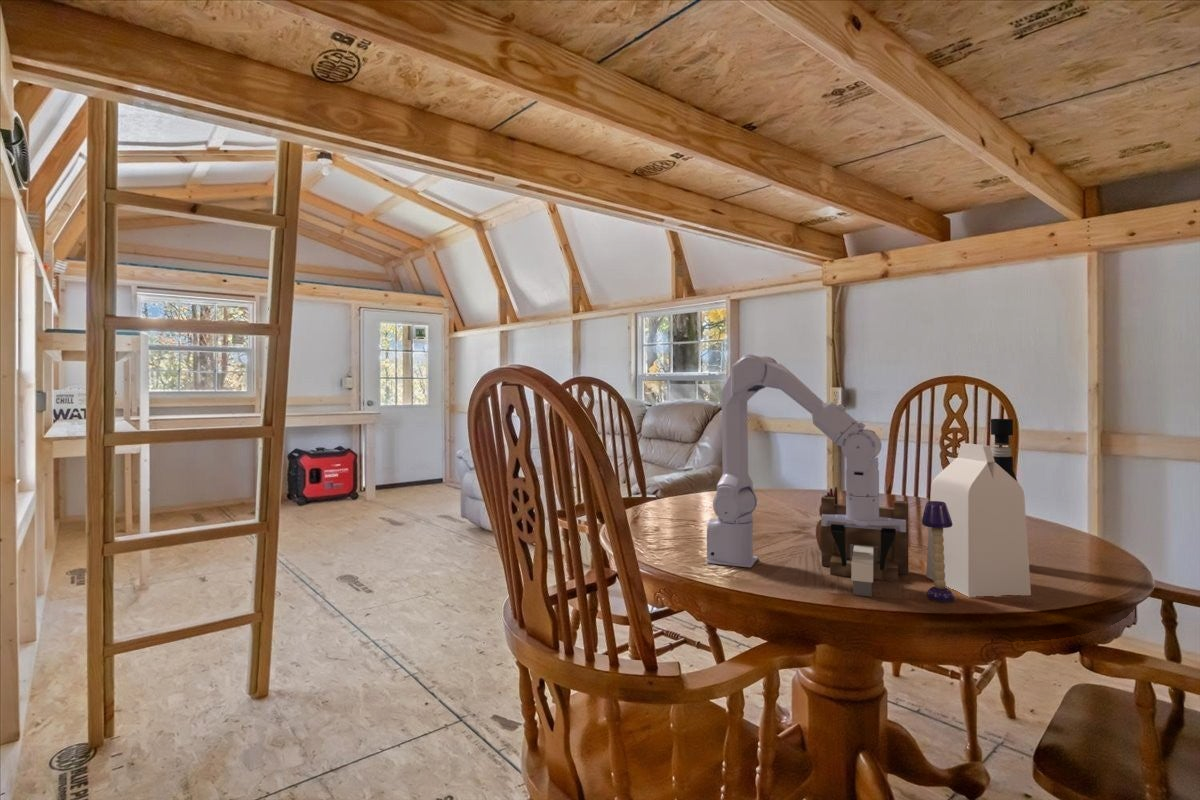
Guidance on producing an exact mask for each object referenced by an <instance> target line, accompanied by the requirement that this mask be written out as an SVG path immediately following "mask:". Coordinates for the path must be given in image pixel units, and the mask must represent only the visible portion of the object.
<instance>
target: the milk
mask: <svg viewBox="0 0 1200 800" xmlns="http://www.w3.org/2000/svg"><path fill="white" fill-rule="evenodd" d="M992 451H993V450H992V449H991V445H985V444H978V443H977V444H975V443H968V442H967V443H960V446H959V450H958V453H957V457H956V458H955V459H954V460H953V461H952V462H951V463H948V465H947V466H946V467H945V468H943V470H941V471H940V472H939V473H938V474H937V475H936V476H935V477H934V479H933V480H932V482H931V486H930V497H929V498H930V500H929V501H941V502H945V503H946V505H947V508H948V511H949V514H950V517H951V520H952V527H949V528H943V534H942V535H943V538H944V542H943V546H944V551H943V553H944V557H945V558H944V561H943V562H944V564H945V569H944V572H945V579H944V580H945V582H946V586H947V587H946V586H945V587H946V588H948V587H949V588H948V589H950V588H951V589H950V590H952V589H954V590H956V591H958V592H960V593H962V594H964V595H966V596H968V597H967V598H977V597H976V596H982V597H981V598H984V597H983V596H994V597H1002V596H1001V595H1021V596H1032V590H1031V577H1030V574H1031V573H1030V562H1029V560H1030V559H1029V545H1028V533H1027V532H1028V531H1027V530H1028V529H1027V528H1028V527H1027V514H1026V502H1025V493H1024V489H1023V487H1022V486H1021V484H1020V482H1018V480H1017V481H1016V480H1015V479H1014V478H1012V477H1011V476H1010V475H1009V474H1008V473H1007V472H1006V471H1005V470H1003V469H1002V468H1001V467H1000V466H999V465H998V464H997V463H995V460H994V457H993V452H992ZM932 536H933V533H932V527H928V538H927V557H926V573H925V574H926V575H925V577H926V578H928V579H930V580H932V581H934V580H935V577H934V570H935V569H934V567H933V562H934V559H933V553H934V551H933V548H932V546H933V541H932ZM954 590H953V591H954ZM956 591H955V592H956ZM958 592H957V593H958ZM960 593H959V594H960ZM962 594H961V595H962ZM964 595H963V596H964ZM966 596H965V597H966Z"/></svg>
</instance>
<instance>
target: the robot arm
mask: <svg viewBox="0 0 1200 800" xmlns="http://www.w3.org/2000/svg"><path fill="white" fill-rule="evenodd" d="M730 367H731V369H730V373H729V376H728V378H727V380H726V382H725V384H724V386H723V388H722V390H721V440H722V441H721V442H722V443H721V444H722V446H721V449H722V450H721V451H722V457H721V458H722V475H721V476H720V479H719V480H718V482H717V484H716V493H715V496H714V498H713V501H712V508H713V511H714V514H715V515H716V517H717V518H710V519H709V520H708V522H707V526H706V560H705V562H706V563H707V564H715V565H724V566H732V567H742V568H752V567H753V566H754V565H755V563H756V562H757V560H758V558H759V557H758V556H757V555H754V518H753V514H752V513H753V512H754V511H755V510H756V508H757V505H758V497H757V495H756V493H755V490H754V486H753V485H754V484H753V480H752V479H751V476H750V474H749V447H748V445H749V444H748V443H749V440H748V439H749V437H748V434H749V433H748V432H749V431H748V427H749V426H748V401H749V400H750V399H751V398H752V397H753V396H755V394H756V393H758V392H759V391H760V390H764V389H765V388H769V389H776V390H780V391H782V392H783V393H784V394H786V395H787V396H788V397H789V398H791V399H792V400H793V401H794V402H796V403H797V404H799V405H800V406H801V407H802V408H803V409H805V410H806V411H807V412H808V413H810V414H811V417H812V424H813V426H814V427H816V428H817V429H818V430H819V431H820V432H822V433H823V434H824V435H825V436H826V437H827V438H829V439H830V440H831V441H832V442H833V443H834V444H836V445H837V446H839V447H841V452H842V455H843V457H844V458H845V459H846V470H845V505H846V515H827V514H822V516H820V520H821V526H831V533H832V536H833V537H834V539H835V542H836V544H837V546H838V549H839V552H840V556H841V560H842V566H846V564H847V557H846V527H853V528H866V529H879V530H881V554H880V570H884V565H885V560H886V557H887V554H888V551H889V549H890V547H891V544H892V543H893V541H894V539H895V536H896V531H900V532H906V520H901V519H892V518H884V517H879V507H880V469H879V457H877V456H878V455H879V454H880V452H881V451H882V447H883V446H882V440H881V438H880V437H879V436H878V434H877V433H876V432H875V430H873V429H868V428H866V429H865V427H866V425H865V424H864V423H863V422H862V421H861V422H858V421H857V420H855V418H853V416H851V415H850V414H849V413H848V412H847V411H846V407H845V406H844V405H843V404H841V403H840V404H838V403H835V402H832V401H830V402H824V400H822V399H821V398H820V397H818V395H817V394H815V393H814V392H813V391H812V390H811V389H810V388H809V387H808V386H807V385H806V384H805V383H803V381H801V380H800V379H799V378H798V377H797V376H796V375H795V374H793V372H791V371H790V369H788V368H787V367H786V366H785V365H783V364H781V363H778V362H777V361H776V360H775V359H774V358H773V357H770V356H765V355H764V356H759V355H754V354H745V355H743V356H741V358H739V359H738V360H737V361H735V362H734V363H733V364H732V365H731V366H730ZM870 525H872V526H870Z"/></svg>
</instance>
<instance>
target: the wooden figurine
mask: <svg viewBox="0 0 1200 800" xmlns="http://www.w3.org/2000/svg"><path fill="white" fill-rule="evenodd" d="M823 497H835V504H837V505H840V503H838V487H837V486H836V487H834V491H833V488H832V487H831V488H830V489H829V492H827V493H826V494H825V495H824V496H823ZM818 513H819V516H820V517H821V505H819V511H818ZM815 539H816V543H817V547H818V549H819V550H820V551H821V553H822V530H821V519H819V521H817V524H816V526H815Z"/></svg>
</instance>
